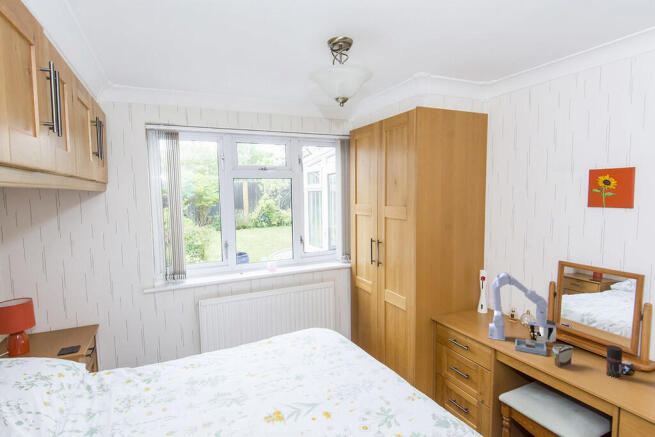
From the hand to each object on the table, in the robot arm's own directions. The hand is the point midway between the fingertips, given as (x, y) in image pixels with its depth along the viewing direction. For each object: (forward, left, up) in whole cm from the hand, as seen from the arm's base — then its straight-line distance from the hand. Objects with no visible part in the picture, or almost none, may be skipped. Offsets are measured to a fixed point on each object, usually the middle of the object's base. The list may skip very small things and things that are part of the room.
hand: (541, 338), depth 210 cm
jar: (+4, +9, -4) cm, 11 cm away
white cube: (0, 0, -4) cm, 4 cm away
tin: (-6, -11, -4) cm, 13 cm away
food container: (+8, -23, -4) cm, 25 cm away
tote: (-6, -11, -4) cm, 13 cm away
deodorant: (+31, -25, -4) cm, 40 cm away
